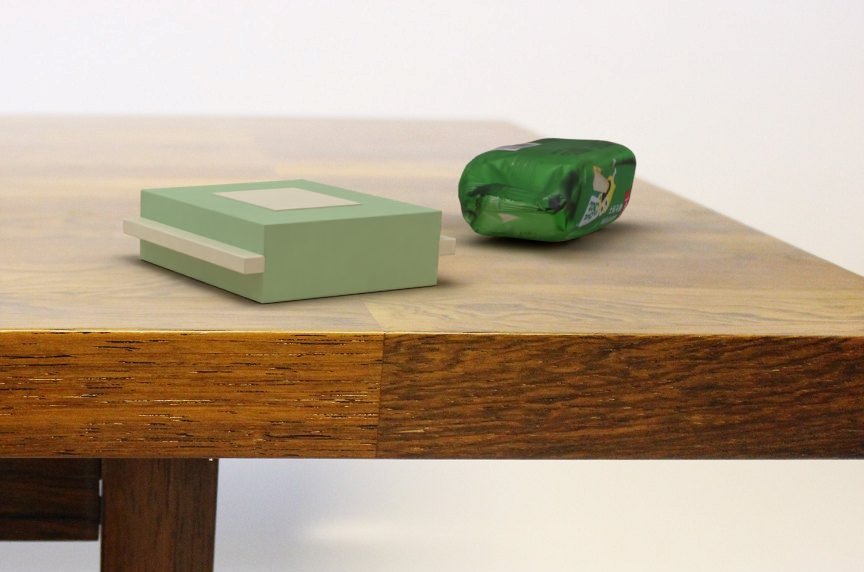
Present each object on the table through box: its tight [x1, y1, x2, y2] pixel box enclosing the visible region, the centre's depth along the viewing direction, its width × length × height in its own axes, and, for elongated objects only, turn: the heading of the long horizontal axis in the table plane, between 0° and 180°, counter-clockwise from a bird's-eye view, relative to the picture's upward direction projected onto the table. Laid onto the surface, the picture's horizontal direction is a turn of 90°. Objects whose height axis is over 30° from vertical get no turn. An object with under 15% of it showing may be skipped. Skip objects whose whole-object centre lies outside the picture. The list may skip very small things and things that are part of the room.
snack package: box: [457, 137, 637, 243], centre depth 85 cm, size 7×16×5 cm, turn 146°
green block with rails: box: [122, 178, 457, 304], centre depth 74 cm, size 12×12×4 cm
